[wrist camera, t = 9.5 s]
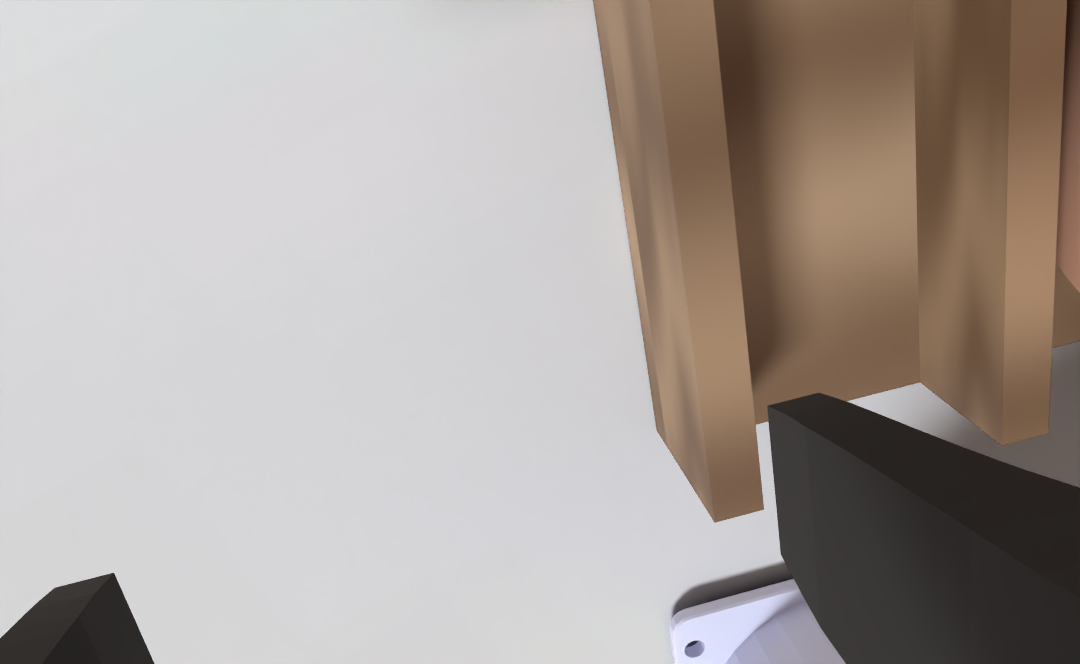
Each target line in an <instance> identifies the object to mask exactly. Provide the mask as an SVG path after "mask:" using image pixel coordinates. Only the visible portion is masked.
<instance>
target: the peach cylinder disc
mask: <svg viewBox="0 0 1080 664" xmlns="http://www.w3.org/2000/svg"><path fill="white" fill-rule="evenodd" d="M1056 263H1057V265H1058V266H1059V268H1060V269H1061V270H1062V272H1063V273H1064V275H1065V276H1066V277H1067V278H1068V280H1069V281H1070V282H1071V283H1072V284H1073V286H1074V287H1075V288H1076V289H1077V290H1078V291H1079V293H1080V0H1067V12H1066V35H1065V58H1064V81H1063V104H1062V127H1061V150H1060V172H1059V195H1058V218H1057V241H1056Z"/></svg>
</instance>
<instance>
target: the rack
mask: <svg viewBox="0 0 1080 664" xmlns="http://www.w3.org/2000/svg"><path fill="white" fill-rule="evenodd" d="M593 3H594V10H595V16H596V23H597V30H598V37H599V43H600V50H601V57H602V64H603V70H604V77H605V84H606V91H607V97H608V104H609V111H610V118H611V124H612V131H613V138H614V145H615V151H616V158H617V165H618V172H619V178H620V185H621V192H622V199H623V205H624V212H625V219H626V226H627V232H628V239H629V246H630V253H631V259H632V266H633V273H634V280H635V286H636V293H637V300H638V307H639V313H640V320H641V327H642V334H643V340H644V347H645V354H646V361H647V367H648V374H649V381H650V388H651V394H652V401H653V408H654V415H655V421H656V428H657V431H658V433H659V435H660V436H661V438H662V439H663V441H664V443H665V444H666V446H667V447H668V449H669V450H670V452H671V454H672V455H673V457H674V458H675V460H676V462H677V463H678V465H679V466H680V468H681V470H682V471H683V473H684V474H685V476H686V478H687V479H688V481H689V482H690V484H691V485H692V487H693V489H694V490H695V492H696V493H697V495H698V497H699V498H700V500H701V501H702V503H703V505H704V506H705V508H706V509H707V511H708V513H709V514H710V516H711V517H712V519H713V521H714V522H719V521H722V520H726V519H730V518H734V517H737V516H741V515H745V514H749V513H752V512H756V511H760V510H764V505H763V495H762V485H761V475H760V465H759V455H758V445H757V435H756V424H760V423H764V422H767V421H769V420H768V409H767V406H768V405H772V404H776V403H780V402H784V401H788V400H791V399H795V398H799V397H803V396H807V395H811V394H815V393H822V394H825V395H829V396H832V397H835V398H838V399H841V400H843V401H849V400H853V399H857V398H861V397H865V396H868V395H872V394H876V393H880V392H884V391H888V390H892V389H896V388H899V387H903V386H907V385H911V384H915V383H919V382H920V383H922V384H923V385H924V386H926V387H927V388H928V389H929V390H931V391H932V392H933V393H935V394H936V395H937V396H938V397H940V398H941V399H942V400H944V401H945V402H946V403H947V404H949V405H950V406H951V407H953V408H954V409H955V410H956V411H958V412H959V413H960V414H962V415H963V416H964V417H965V418H967V419H968V420H969V421H971V422H972V423H973V424H974V425H976V426H977V427H978V428H980V429H981V430H982V431H983V432H985V433H986V434H987V435H989V436H990V437H991V438H992V439H994V440H995V441H996V442H998V443H999V444H1000V445H1001V446H1004V445H1007V444H1011V443H1015V442H1018V441H1022V440H1026V439H1030V438H1033V437H1037V436H1041V435H1045V434H1048V424H1049V401H1050V378H1051V356H1052V348H1055V347H1059V346H1063V345H1066V344H1070V343H1074V342H1078V341H1080V293H1079V291H1078V290H1077V289H1076V288H1075V287H1074V286H1073V284H1072V283H1071V282H1070V281H1069V280H1068V278H1067V277H1066V276H1065V275H1064V273H1063V272H1062V270H1061V269H1060V268H1059V266H1058V265H1057V263H1056V241H1057V218H1058V195H1059V172H1060V150H1061V127H1062V104H1063V81H1064V58H1065V35H1066V12H1067V0H593Z"/></svg>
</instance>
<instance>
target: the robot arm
mask: <svg viewBox="0 0 1080 664" xmlns="http://www.w3.org/2000/svg"><path fill="white" fill-rule="evenodd" d="M767 409H768V420H769V431H770V441H771V452H772V463H773V474H774V484H775V495H776V506H777V517H778V527H779V538H780V549H781V555H782V557H783V559H784V561H785V563H786V565H787V567H788V569H789V571H790V572H791V574H792V576H793V578H794V579H791V580H787V581H784V582H780V583H777V584H773V585H769V586H766V587H762V588H758V589H755V590H751V591H747V592H744V593H740V594H737V595H733V596H729V597H726V598H722V599H718V600H715V601H711V602H707V603H704V604H700V605H697V606H693V607H689V608H686V609H683V610H681V611H679V612H678V613H676V614H675V615H674V616H673V617H672V619H671V621H670V623H669V635H670V641H671V648H672V654H673V660H674V664H1080V488H1079V487H1076V486H1072V485H1069V484H1066V483H1063V482H1060V481H1057V480H1054V479H1051V478H1048V477H1045V476H1042V475H1039V474H1036V473H1033V472H1030V471H1027V470H1024V469H1021V468H1018V467H1015V466H1012V465H1010V464H1007V463H1004V462H1001V461H998V460H996V459H993V458H990V457H987V456H985V455H982V454H979V453H977V452H974V451H971V450H969V449H966V448H963V447H961V446H958V445H956V444H953V443H950V442H948V441H945V440H943V439H940V438H937V437H935V436H932V435H930V434H927V433H925V432H922V431H920V430H917V429H915V428H912V427H910V426H907V425H905V424H902V423H900V422H897V421H895V420H892V419H890V418H887V417H885V416H882V415H880V414H877V413H875V412H872V411H870V410H867V409H864V408H862V407H859V406H857V405H854V404H851V403H849V402H846V401H843V400H841V399H838V398H835V397H832V396H829V395H825V394H822V393H815V394H811V395H807V396H803V397H799V398H795V399H791V400H788V401H784V402H780V403H776V404H772V405H768V406H767ZM697 640H698V642H697V643H696V644H695V645H693V646H691V647H686V646H687V644H688V643H690V642H692V641H697ZM0 664H154V662H153V660H152V657H151V655H150V653H149V651H148V648H147V646H146V644H145V642H144V639H143V637H142V635H141V633H140V630H139V628H138V626H137V624H136V621H135V619H134V617H133V615H132V613H131V610H130V608H129V606H128V604H127V601H126V599H125V597H124V595H123V592H122V590H121V588H120V586H119V583H118V581H117V579H116V577H115V574H114V573H111V574H107V575H103V576H99V577H96V578H92V579H88V580H84V581H80V582H76V583H72V584H68V585H64V586H60V587H56V588H54V589H53V590H52V591H50V592H49V593H48V594H47V595H46V596H45V597H43V598H42V599H41V600H40V601H39V602H38V603H37V604H35V605H34V606H33V607H32V608H31V609H30V610H29V611H28V612H27V613H26V614H25V615H24V616H23V617H22V618H21V619H20V620H19V621H18V622H17V623H16V624H15V625H14V626H13V627H11V628H10V629H9V630H8V631H7V632H6V633H5V634H4V635H3V636H2V637H1V638H0Z"/></svg>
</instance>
